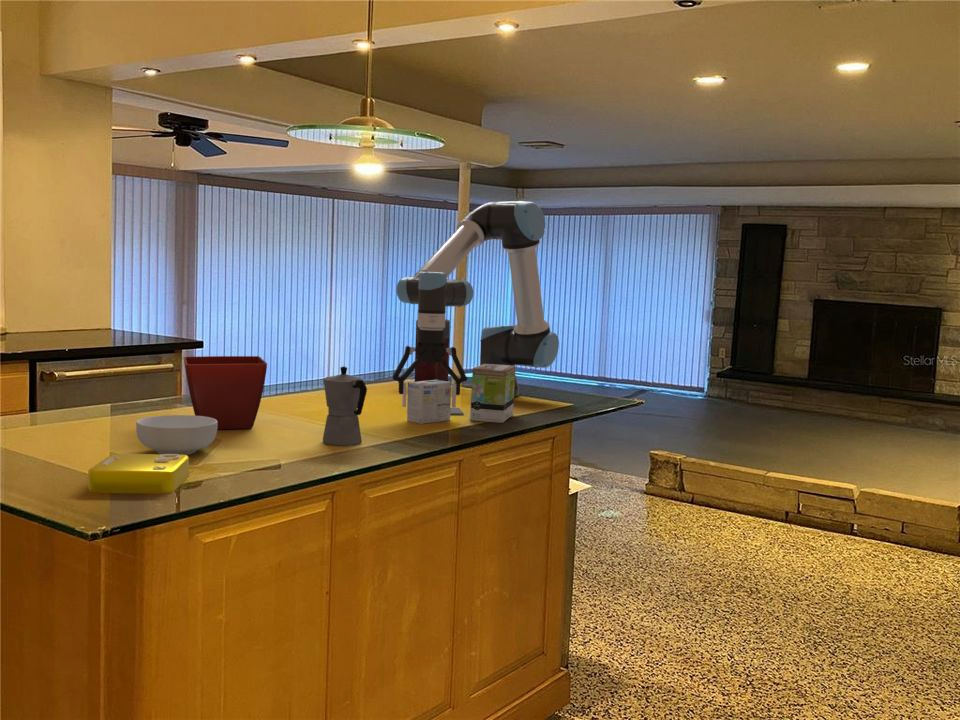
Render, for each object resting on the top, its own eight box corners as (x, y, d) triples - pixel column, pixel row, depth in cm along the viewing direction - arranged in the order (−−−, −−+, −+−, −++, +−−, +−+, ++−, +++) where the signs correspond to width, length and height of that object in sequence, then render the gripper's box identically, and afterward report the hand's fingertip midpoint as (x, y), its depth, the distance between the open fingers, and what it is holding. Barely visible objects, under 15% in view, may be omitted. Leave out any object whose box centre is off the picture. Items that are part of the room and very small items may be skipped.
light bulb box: (435, 417, 247) (436, 378, 246) (451, 420, 242) (452, 381, 241) (405, 420, 240) (406, 381, 238) (421, 424, 235) (422, 384, 234)
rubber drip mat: (411, 408, 259) (411, 407, 259) (458, 409, 261) (458, 407, 261) (414, 414, 249) (414, 412, 249) (463, 415, 252) (463, 413, 251)
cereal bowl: (217, 459, 185) (217, 426, 185) (132, 462, 181) (132, 428, 180) (217, 443, 201) (217, 413, 201) (139, 445, 197) (139, 414, 196)
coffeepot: (309, 439, 209) (311, 364, 207) (342, 435, 215) (344, 362, 214) (346, 451, 198) (348, 371, 196) (380, 446, 204) (382, 369, 202)
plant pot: (183, 419, 229) (183, 355, 227) (258, 418, 236) (259, 355, 234) (185, 433, 211) (185, 364, 209) (267, 431, 218) (267, 363, 216)
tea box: (505, 423, 240) (507, 369, 239) (469, 421, 242) (470, 367, 241) (514, 415, 255) (516, 364, 253) (480, 412, 257) (481, 362, 255)
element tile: (112, 475, 171) (112, 450, 170) (191, 476, 172) (191, 452, 172) (84, 495, 156) (84, 468, 156) (171, 496, 158) (171, 469, 157)
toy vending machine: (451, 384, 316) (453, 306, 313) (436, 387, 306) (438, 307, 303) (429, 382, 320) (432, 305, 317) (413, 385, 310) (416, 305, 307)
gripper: (385, 328, 233) (383, 408, 235) (478, 331, 237) (476, 409, 239) (384, 326, 240) (382, 403, 242) (474, 329, 244) (471, 404, 246)
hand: (428, 406), depth 240 cm, fingers open, 13 cm apart
